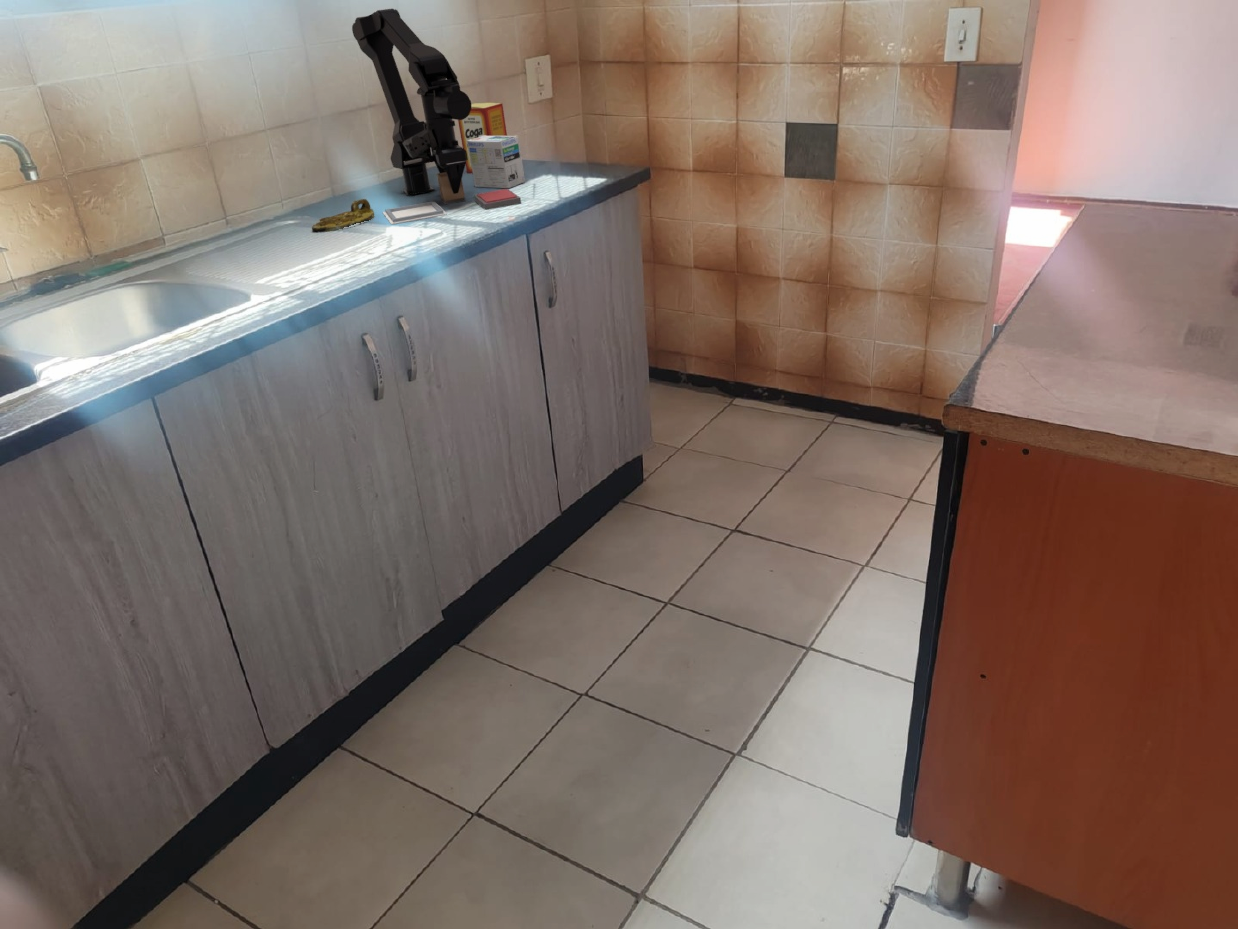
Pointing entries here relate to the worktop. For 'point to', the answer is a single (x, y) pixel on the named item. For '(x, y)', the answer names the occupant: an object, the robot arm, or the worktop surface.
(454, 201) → the brown cardboard box
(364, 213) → the seal
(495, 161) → the light bulb box
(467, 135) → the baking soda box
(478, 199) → the ink pad
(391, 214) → the frame
